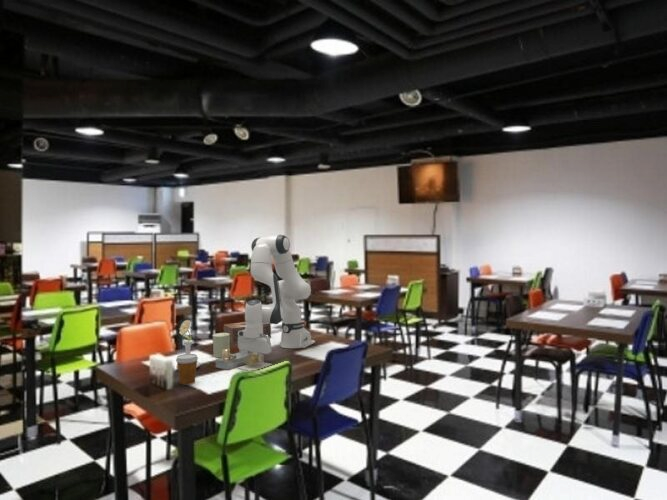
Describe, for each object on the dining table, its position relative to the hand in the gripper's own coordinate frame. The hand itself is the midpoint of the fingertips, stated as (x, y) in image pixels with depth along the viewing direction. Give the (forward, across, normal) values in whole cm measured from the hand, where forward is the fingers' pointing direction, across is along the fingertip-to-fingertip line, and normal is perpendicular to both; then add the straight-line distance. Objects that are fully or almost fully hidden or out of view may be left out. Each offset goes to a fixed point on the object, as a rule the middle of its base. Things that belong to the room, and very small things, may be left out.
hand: (254, 360), depth 233 cm
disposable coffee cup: (+4, +9, +34) cm, 35 cm away
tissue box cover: (+4, +48, -43) cm, 65 cm away
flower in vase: (+4, +26, +20) cm, 33 cm away
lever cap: (+1, 0, 0) cm, 1 cm away
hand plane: (+3, +12, 0) cm, 12 cm away
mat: (+3, 0, 0) cm, 3 cm away
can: (+4, +32, -7) cm, 33 cm away
